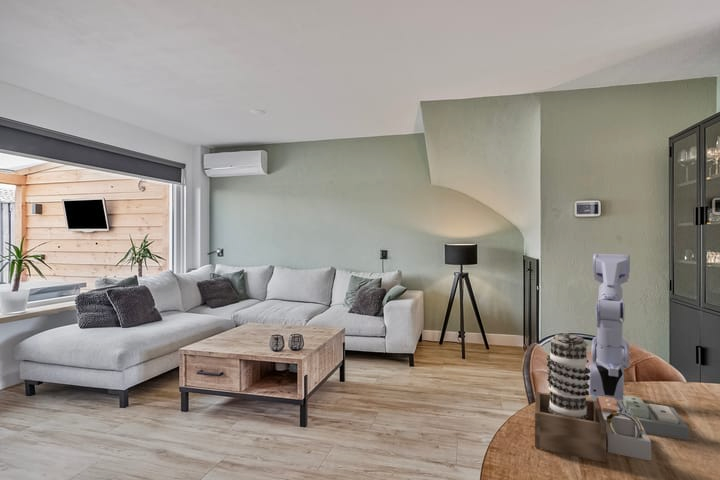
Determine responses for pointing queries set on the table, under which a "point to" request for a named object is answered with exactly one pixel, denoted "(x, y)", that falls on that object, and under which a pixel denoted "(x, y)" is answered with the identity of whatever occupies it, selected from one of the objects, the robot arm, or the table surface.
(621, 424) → the bracelet dish
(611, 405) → the tile two terracotta
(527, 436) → the table surface
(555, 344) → the decorative candle
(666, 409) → the tile one cream
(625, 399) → the tile three sage
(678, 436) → the button board
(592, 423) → the box
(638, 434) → the ring
